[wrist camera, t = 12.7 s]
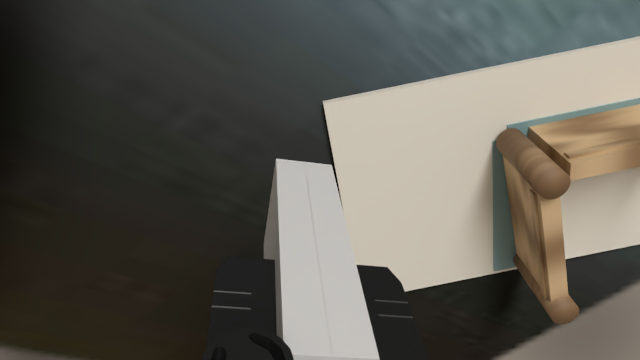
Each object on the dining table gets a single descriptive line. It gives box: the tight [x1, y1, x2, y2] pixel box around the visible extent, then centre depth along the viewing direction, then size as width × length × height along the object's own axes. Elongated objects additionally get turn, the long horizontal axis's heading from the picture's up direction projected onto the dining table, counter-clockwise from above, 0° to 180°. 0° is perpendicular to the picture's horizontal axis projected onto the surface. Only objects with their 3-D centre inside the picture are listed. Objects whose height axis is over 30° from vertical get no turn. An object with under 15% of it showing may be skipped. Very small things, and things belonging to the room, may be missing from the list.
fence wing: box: [496, 128, 579, 324], centre depth 40 cm, size 15×2×7 cm, turn 17°
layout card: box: [323, 36, 640, 291], centre depth 43 cm, size 28×20×1 cm
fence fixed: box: [528, 104, 640, 181], centre depth 37 cm, size 12×2×7 cm, turn 100°
